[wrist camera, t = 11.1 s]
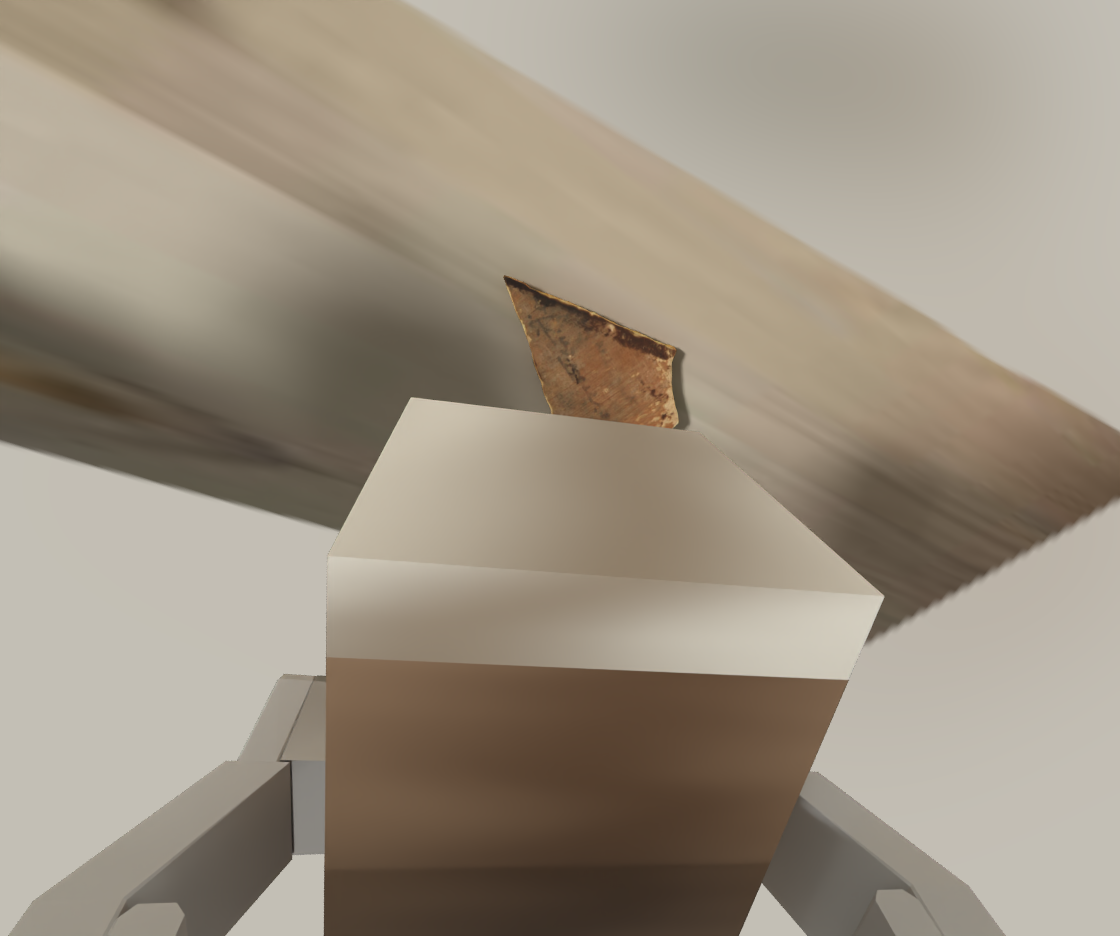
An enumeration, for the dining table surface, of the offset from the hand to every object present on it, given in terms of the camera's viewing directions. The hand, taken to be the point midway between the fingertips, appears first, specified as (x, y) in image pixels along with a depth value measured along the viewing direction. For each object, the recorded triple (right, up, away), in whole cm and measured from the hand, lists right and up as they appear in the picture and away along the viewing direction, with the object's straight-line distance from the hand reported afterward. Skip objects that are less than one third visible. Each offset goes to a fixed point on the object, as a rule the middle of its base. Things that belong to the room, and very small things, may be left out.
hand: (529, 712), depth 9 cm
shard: (+1, +9, +22) cm, 24 cm away
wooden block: (-1, -5, +1) cm, 5 cm away
